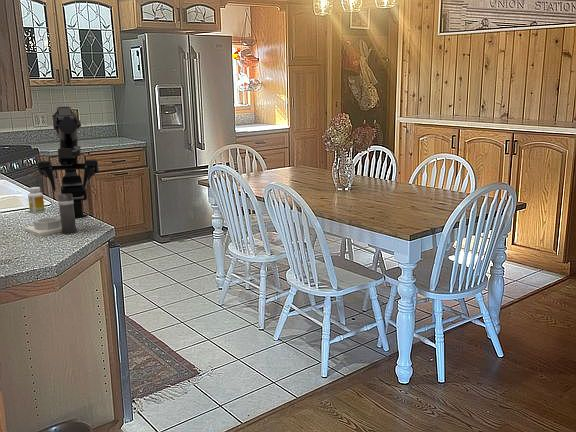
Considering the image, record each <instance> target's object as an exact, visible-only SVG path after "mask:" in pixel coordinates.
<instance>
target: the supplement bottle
mask: <svg viewBox="0 0 576 432" xmlns="http://www.w3.org/2000/svg"><path fill="white" fill-rule="evenodd" d="M28 189H29V193H28V195H27V197H28V206H29V213H30V214H40V213H44V212H45V210H46V209H45V201H44V200H45V199H44V195H43V192H41V187H40V186H33V187H29V188H28Z"/></svg>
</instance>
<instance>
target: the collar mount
mask: <svg viewBox="0 0 576 432" xmlns="http://www.w3.org/2000/svg"><path fill="white" fill-rule="evenodd" d="M23 228H24V231H25V232H27V233H30V234H33V235H35V236H37V237H41V236H42V237H43V236H47V235H48V236H49V235H51V234H56V233H62V226H61V217H60V216H55V217H54V216H51V217H42V218H37V219H35V220H34V221H33V225H30V226H26V227H25V226H24V227H23Z"/></svg>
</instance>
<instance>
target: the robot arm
mask: <svg viewBox="0 0 576 432" xmlns="http://www.w3.org/2000/svg"><path fill="white" fill-rule="evenodd" d="M52 123H53V130H55V132H56V133H55V134H56V137H58V140H59V148H57V156H58V157H57V158H58V163H59V164H58V163H57V164H54V163H52V161H51V160H39V162H37V170H38V172H39V174H40V175H41V176H44V178H48V179H49V181H50V184H51V188H52V190H53V192H56V182H55V175H54V171H64V173H65V174H64V176H62V178H61V184H62V185H60V186H59V187H60V194H66V193H70V194H72V195H73V202H74V203H73V205H74V214H75V219H77V218H81V217H87V216H88V214H87V213H84V209H83V201H86V200H88V191H87V187H88V184H89V182H90V180H91V178H92V177H93V176H96V174H98V173H100V166H99V161H98V159H95V158H94V159H92V158H91V159H84V163H83V162H82V163H79V157H80V156H81V155H82V152H81V151H82V150H81V146H80V145H79V144H78V140H79V139H78V129H80V128H81V127H82V123H81V120H79V117H78V116H77V114H75V113H74V112H73V111H72V107H71V106H58V107H56V111H55V113H54V114H53V115H52ZM77 170H84V171H83V181H82V177H81V176H80V175H79V174H78V173H77Z"/></svg>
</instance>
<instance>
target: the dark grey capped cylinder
mask: <svg viewBox="0 0 576 432" xmlns="http://www.w3.org/2000/svg"><path fill="white" fill-rule="evenodd" d="M57 202H58V206H59V207H58V208H59V218H61V226H62V232H61V233H62V234H63V235H71V234H75V233H77V226H76V225H77V224H76V218H75V214H74V205H73V203H74V202H73V195H72V194H70V193H66V194H61V193H59V194H58V195H57Z"/></svg>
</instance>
